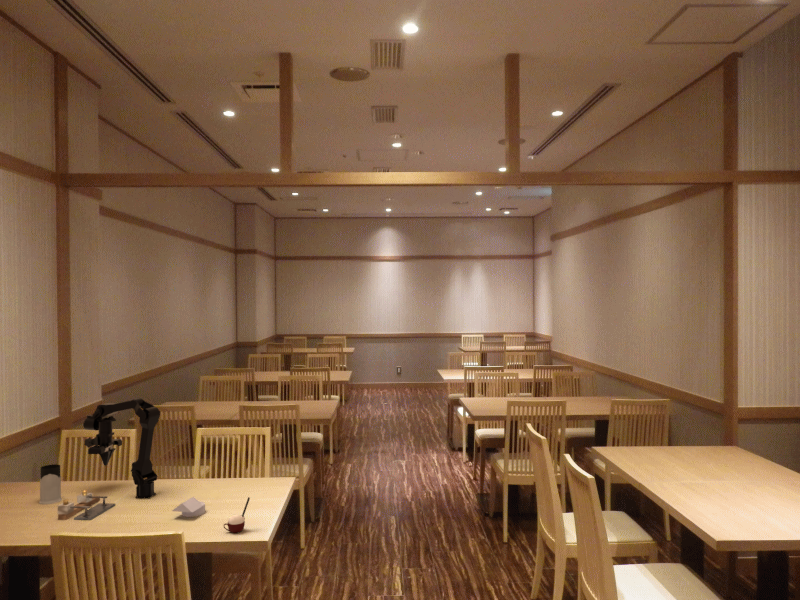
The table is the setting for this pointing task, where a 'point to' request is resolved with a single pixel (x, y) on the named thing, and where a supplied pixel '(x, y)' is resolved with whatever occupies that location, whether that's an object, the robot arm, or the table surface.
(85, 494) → the carriage
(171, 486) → the table surface
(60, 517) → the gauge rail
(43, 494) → the glass holder
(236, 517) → the cocoa
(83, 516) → the flange plate
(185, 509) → the wedge on round base
